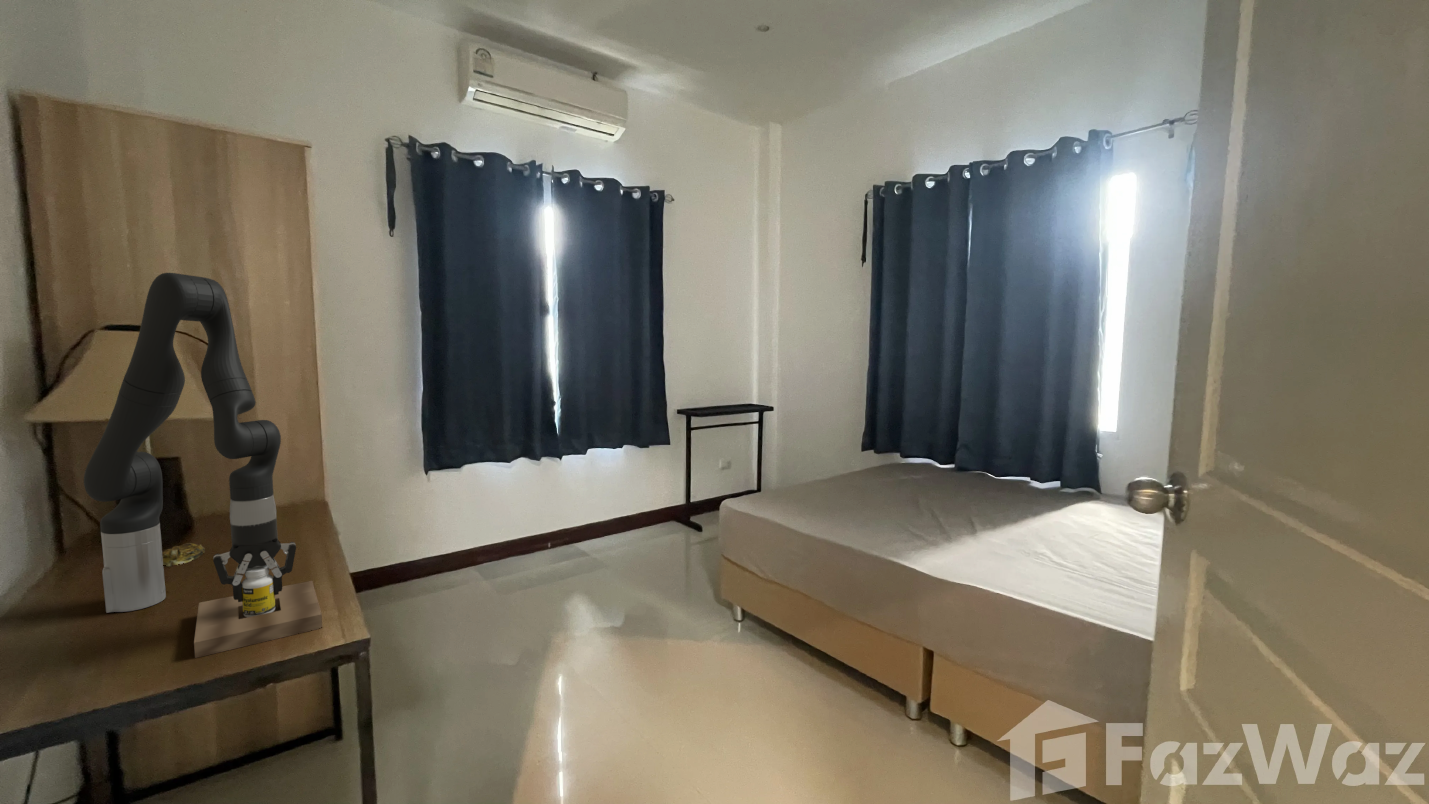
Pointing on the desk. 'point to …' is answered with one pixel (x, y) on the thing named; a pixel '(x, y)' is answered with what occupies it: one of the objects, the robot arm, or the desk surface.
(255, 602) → the supplement bottle
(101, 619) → the desk surface
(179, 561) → the noodle cake
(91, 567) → the desk surface
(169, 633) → the desk surface
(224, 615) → the socket board
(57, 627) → the desk surface
